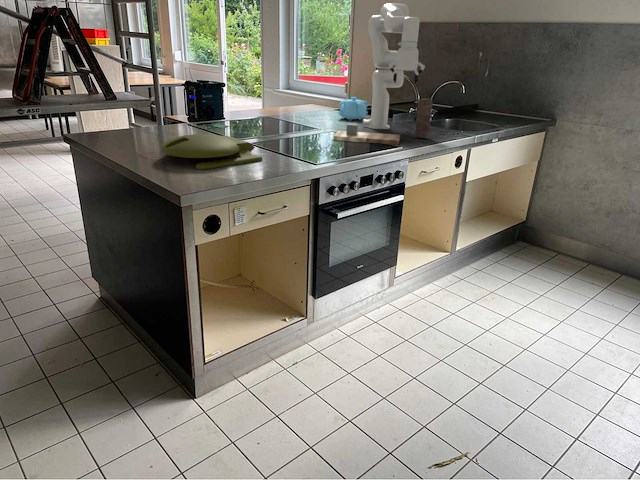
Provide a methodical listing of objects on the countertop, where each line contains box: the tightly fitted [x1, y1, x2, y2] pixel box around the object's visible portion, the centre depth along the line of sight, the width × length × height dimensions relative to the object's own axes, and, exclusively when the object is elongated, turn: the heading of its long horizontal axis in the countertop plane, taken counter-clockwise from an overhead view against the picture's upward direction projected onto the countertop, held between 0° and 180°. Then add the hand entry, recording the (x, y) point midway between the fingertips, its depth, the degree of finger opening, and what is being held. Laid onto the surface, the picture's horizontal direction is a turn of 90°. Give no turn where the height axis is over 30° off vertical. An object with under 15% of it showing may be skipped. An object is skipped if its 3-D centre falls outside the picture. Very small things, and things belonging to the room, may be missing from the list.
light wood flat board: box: [333, 130, 401, 146], centre depth 244 cm, size 32×16×2 cm, turn 80°
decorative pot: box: [337, 96, 369, 121], centre depth 302 cm, size 20×20×14 cm
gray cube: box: [345, 122, 359, 136], centre depth 243 cm, size 5×5×5 cm
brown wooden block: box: [414, 98, 433, 139], centre depth 249 cm, size 8×7×20 cm
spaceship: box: [160, 133, 263, 171], centre depth 193 cm, size 35×31×10 cm
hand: (405, 83), depth 237 cm, fingers open, 9 cm apart
